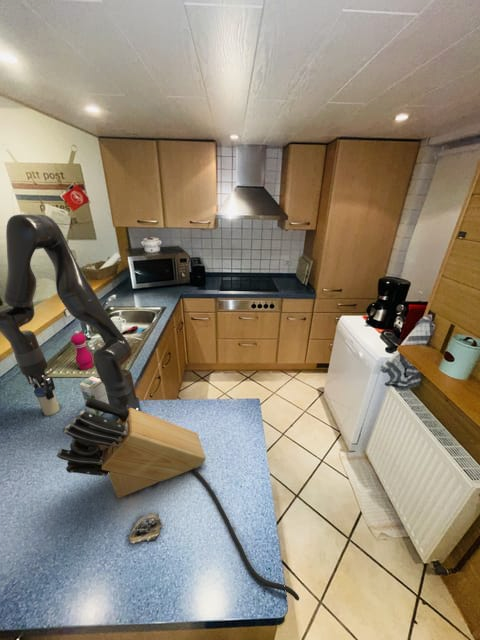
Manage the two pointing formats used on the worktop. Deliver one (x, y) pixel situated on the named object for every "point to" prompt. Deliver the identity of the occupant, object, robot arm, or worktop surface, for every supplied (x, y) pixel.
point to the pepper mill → (82, 351)
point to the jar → (49, 405)
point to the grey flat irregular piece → (146, 528)
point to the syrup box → (93, 392)
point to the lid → (39, 392)
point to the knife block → (129, 448)
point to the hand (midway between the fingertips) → (45, 395)
